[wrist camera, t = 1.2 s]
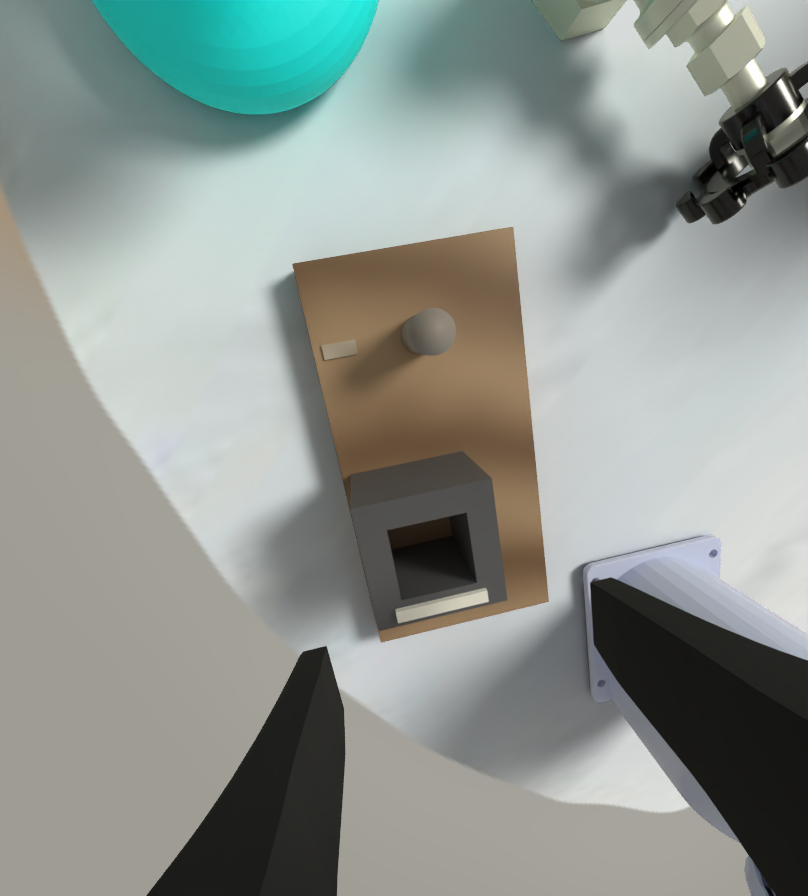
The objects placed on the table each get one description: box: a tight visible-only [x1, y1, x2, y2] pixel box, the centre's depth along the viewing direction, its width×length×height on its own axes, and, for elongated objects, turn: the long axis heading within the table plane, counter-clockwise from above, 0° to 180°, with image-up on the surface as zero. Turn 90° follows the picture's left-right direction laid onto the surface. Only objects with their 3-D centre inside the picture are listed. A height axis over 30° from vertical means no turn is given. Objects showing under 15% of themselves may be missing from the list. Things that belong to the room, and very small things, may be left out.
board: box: [293, 227, 549, 642], centre depth 17 cm, size 18×9×4 cm, turn 10°
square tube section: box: [350, 451, 507, 631], centre depth 17 cm, size 5×5×4 cm
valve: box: [532, 0, 808, 224], centre depth 13 cm, size 7×7×12 cm
